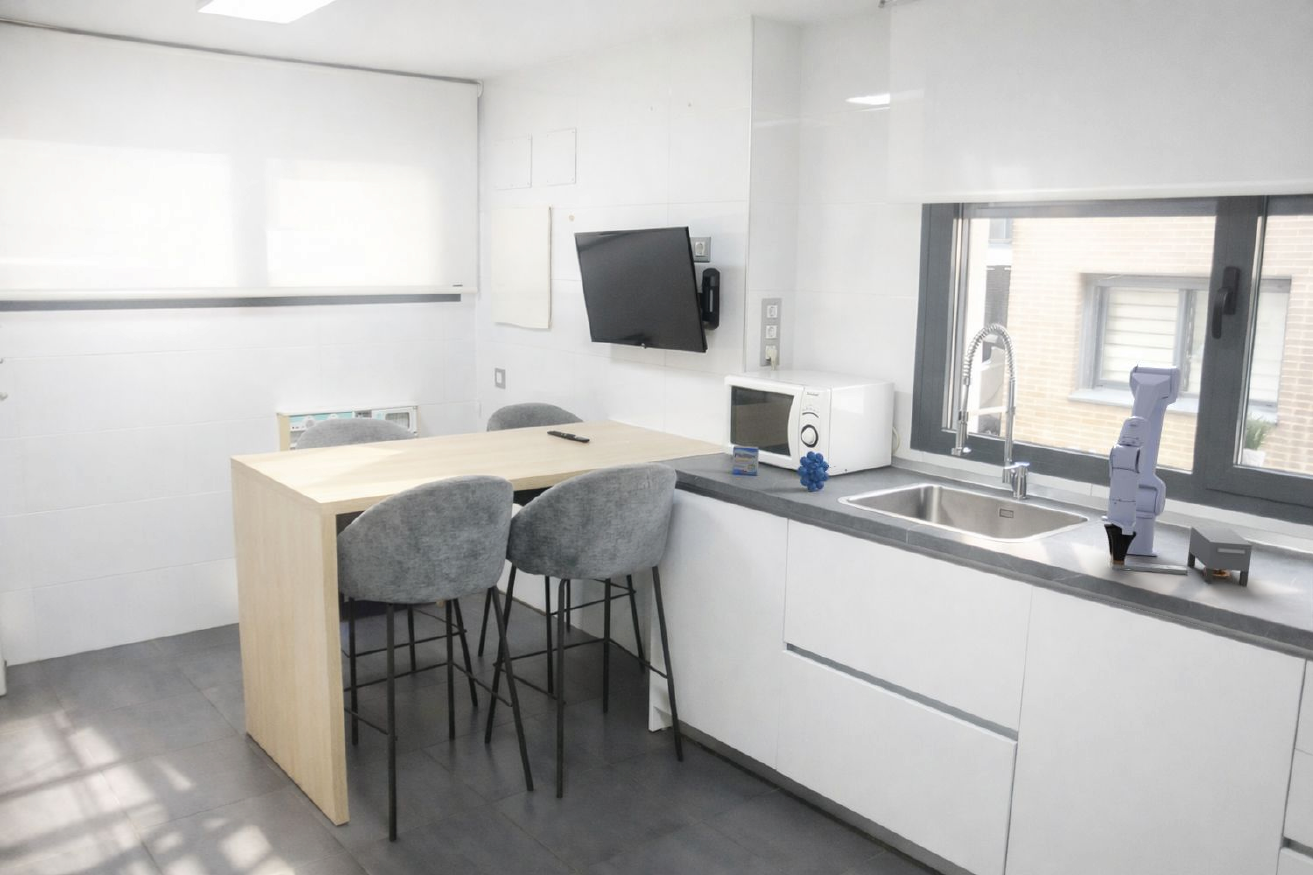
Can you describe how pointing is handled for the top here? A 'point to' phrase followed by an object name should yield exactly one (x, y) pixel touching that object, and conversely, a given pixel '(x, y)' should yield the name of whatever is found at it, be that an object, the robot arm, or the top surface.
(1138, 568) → the scraper
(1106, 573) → the top surface
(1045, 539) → the top surface
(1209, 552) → the low cabinet
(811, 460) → the grapes
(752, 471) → the medicine box
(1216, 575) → the copper token
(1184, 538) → the top surface
